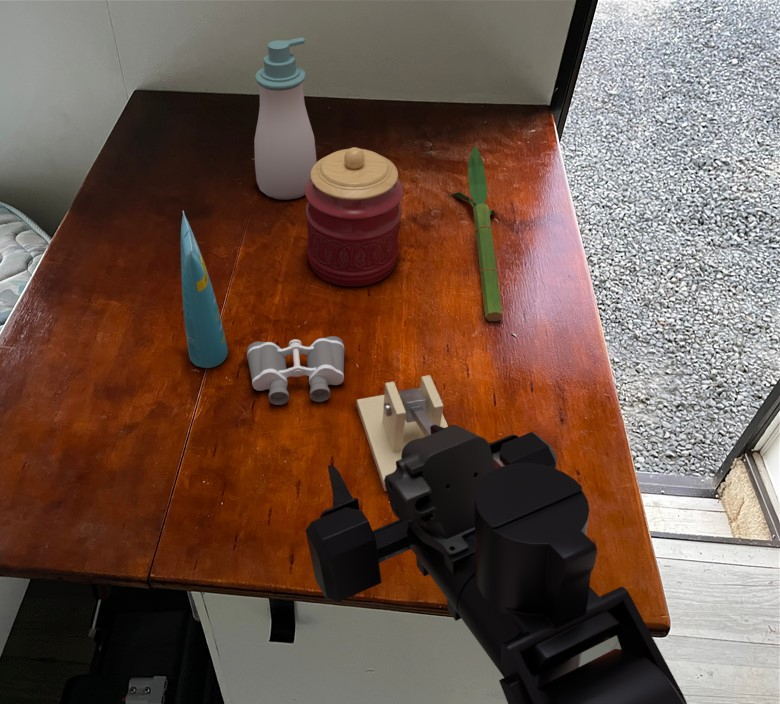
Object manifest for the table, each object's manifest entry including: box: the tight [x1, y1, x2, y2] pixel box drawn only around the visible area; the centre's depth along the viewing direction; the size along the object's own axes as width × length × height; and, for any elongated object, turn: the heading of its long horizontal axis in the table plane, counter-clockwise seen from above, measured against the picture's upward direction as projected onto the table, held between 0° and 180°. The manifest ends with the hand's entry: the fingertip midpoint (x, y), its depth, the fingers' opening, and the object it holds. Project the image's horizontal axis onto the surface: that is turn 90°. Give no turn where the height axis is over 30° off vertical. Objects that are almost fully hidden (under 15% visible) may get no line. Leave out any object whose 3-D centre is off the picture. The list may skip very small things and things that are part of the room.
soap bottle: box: [253, 36, 317, 201], centre depth 107 cm, size 10×10×23 cm
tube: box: [180, 210, 229, 369], centre depth 83 cm, size 7×5×19 cm, turn 19°
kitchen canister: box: [304, 146, 404, 288], centre depth 95 cm, size 13×13×18 cm
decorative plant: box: [451, 144, 503, 322], centre depth 101 cm, size 6×8×30 cm
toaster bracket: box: [356, 374, 449, 492], centre depth 77 cm, size 12×9×8 cm
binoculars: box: [246, 335, 346, 406], centre depth 85 cm, size 12×8×4 cm, turn 94°
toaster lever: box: [398, 387, 434, 437], centre depth 71 cm, size 11×6×2 cm, turn 12°
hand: (382, 448), depth 57 cm, fingers open, 9 cm apart
